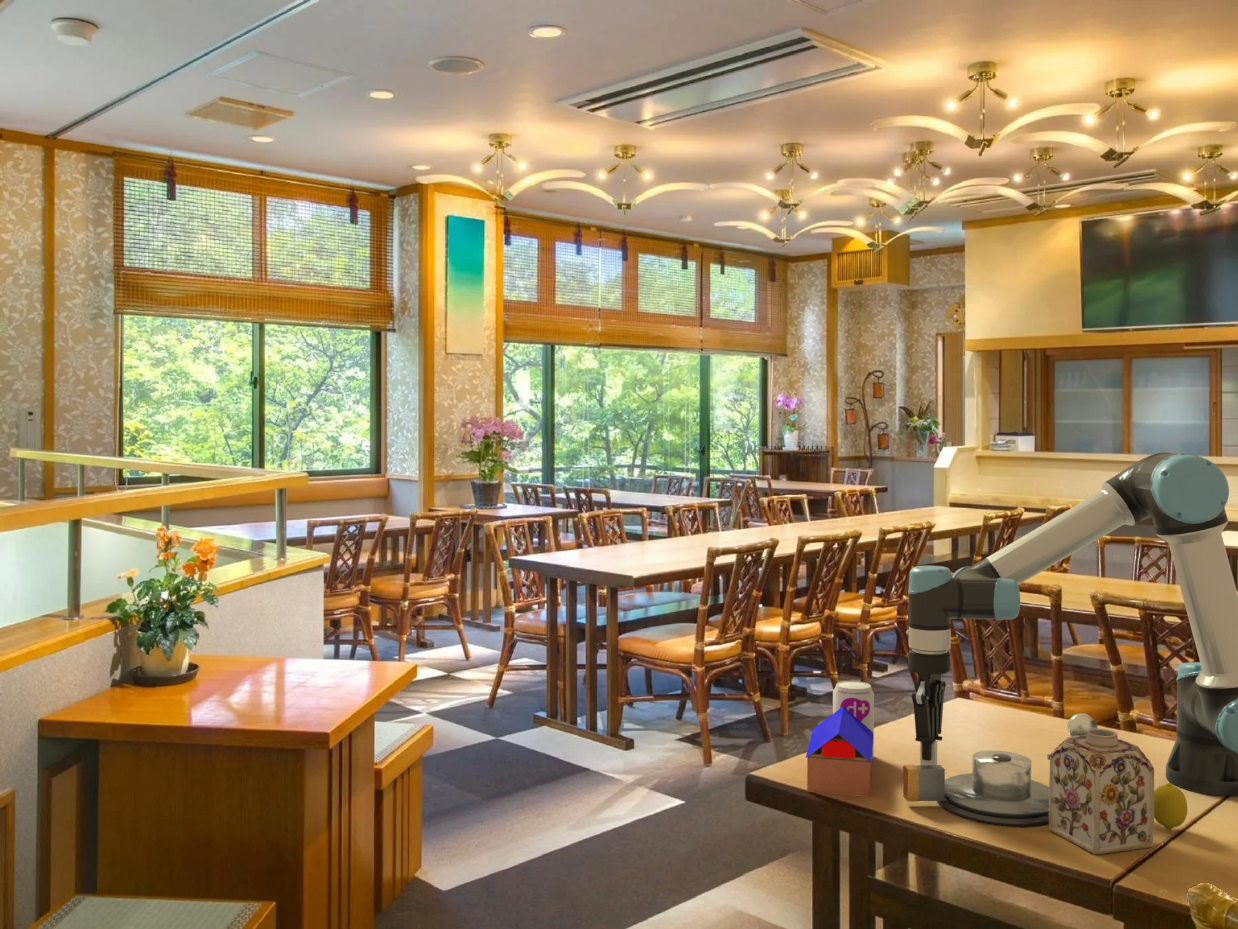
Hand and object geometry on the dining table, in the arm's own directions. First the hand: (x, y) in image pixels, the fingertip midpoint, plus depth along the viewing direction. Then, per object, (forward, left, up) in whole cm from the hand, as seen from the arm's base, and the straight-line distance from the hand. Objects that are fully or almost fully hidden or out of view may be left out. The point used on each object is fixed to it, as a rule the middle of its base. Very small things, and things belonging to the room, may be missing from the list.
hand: (928, 775), depth 200 cm
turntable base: (-12, -3, -3) cm, 13 cm away
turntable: (-10, -1, -2) cm, 10 cm away
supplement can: (+22, -9, -4) cm, 24 cm away
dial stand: (-21, -14, -3) cm, 25 cm away
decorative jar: (-31, +1, -4) cm, 31 cm away
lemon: (-38, -11, -4) cm, 40 cm away
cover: (-13, -3, -1) cm, 13 cm away
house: (+17, +4, -4) cm, 17 cm away
